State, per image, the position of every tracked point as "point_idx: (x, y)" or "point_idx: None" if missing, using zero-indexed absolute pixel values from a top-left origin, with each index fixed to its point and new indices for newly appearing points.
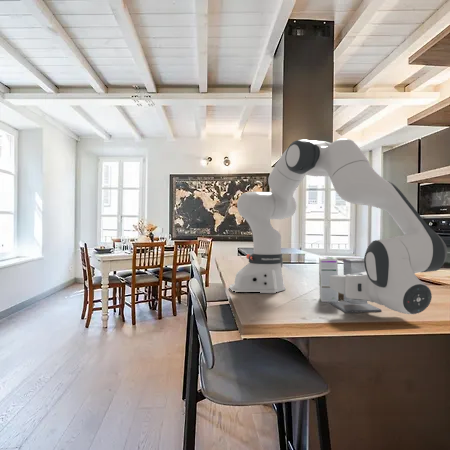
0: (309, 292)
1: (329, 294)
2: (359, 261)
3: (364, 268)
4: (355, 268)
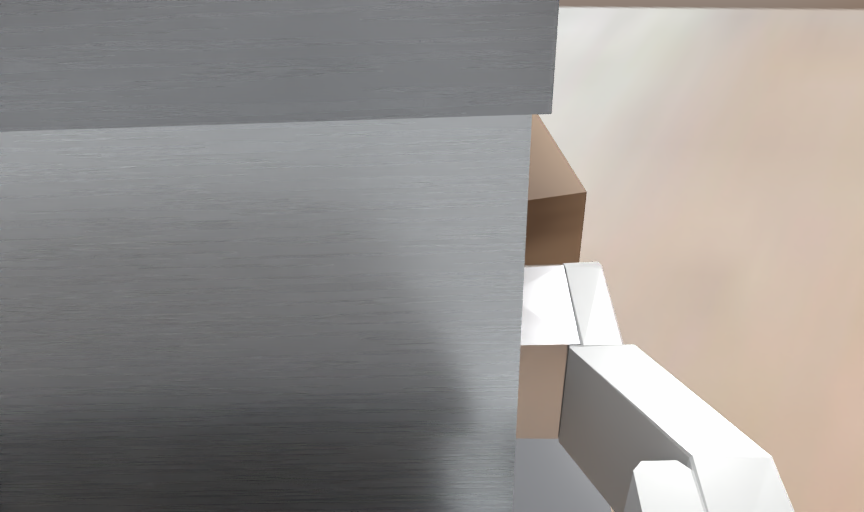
0: None
1: None
2: (92, 45)
3: (407, 315)
4: (31, 313)
